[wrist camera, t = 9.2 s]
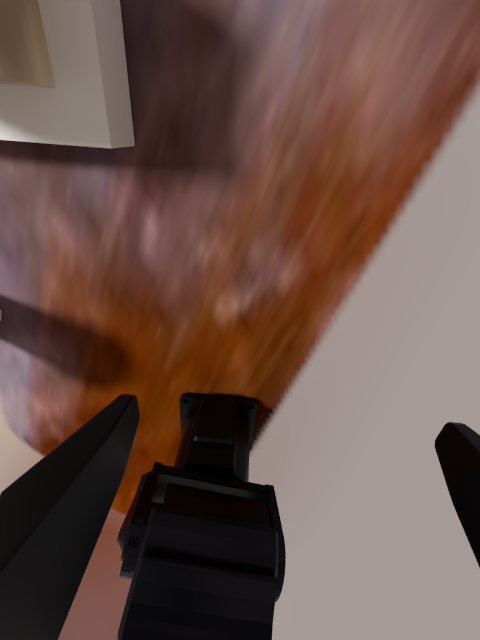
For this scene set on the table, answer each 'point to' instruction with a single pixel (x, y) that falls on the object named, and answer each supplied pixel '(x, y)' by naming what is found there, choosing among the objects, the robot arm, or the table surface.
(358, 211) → the table surface
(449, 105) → the table surface
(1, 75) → the maple cube
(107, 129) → the plinth
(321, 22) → the table surface
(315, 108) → the table surface
